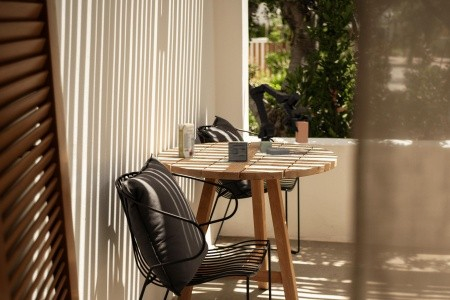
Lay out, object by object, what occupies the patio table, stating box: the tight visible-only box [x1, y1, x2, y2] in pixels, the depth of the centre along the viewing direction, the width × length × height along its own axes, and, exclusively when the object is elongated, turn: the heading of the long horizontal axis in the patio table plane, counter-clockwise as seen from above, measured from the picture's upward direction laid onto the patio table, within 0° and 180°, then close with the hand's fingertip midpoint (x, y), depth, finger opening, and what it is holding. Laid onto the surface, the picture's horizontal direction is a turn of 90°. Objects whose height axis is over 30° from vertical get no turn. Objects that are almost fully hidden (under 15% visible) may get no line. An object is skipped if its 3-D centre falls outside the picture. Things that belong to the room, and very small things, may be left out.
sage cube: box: [258, 140, 273, 153], centre depth 473 cm, size 6×6×6 cm
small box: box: [227, 141, 249, 163], centre depth 434 cm, size 11×6×10 cm, turn 84°
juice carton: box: [177, 122, 195, 159], centre depth 450 cm, size 8×9×19 cm
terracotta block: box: [295, 121, 309, 144], centre depth 462 cm, size 6×6×12 cm
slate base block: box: [265, 147, 291, 156], centre depth 463 cm, size 11×11×3 cm
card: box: [291, 148, 308, 153], centre depth 477 cm, size 8×8×1 cm
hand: (303, 131), depth 461 cm, fingers closed on terracotta block, 8 cm apart
